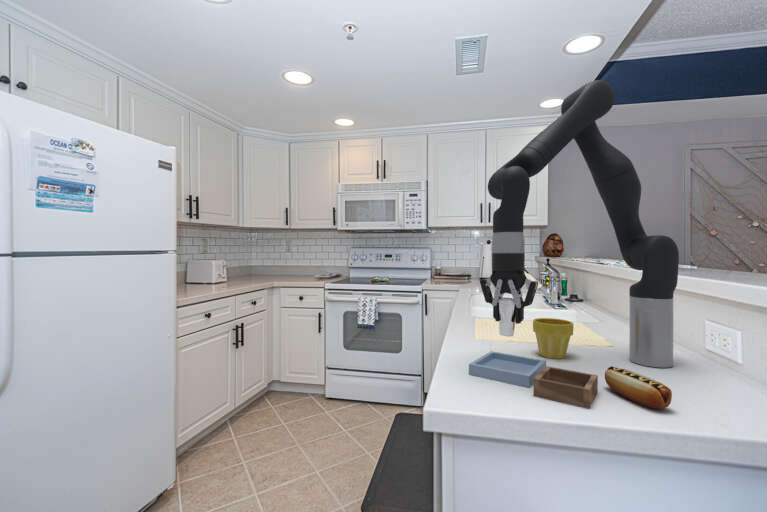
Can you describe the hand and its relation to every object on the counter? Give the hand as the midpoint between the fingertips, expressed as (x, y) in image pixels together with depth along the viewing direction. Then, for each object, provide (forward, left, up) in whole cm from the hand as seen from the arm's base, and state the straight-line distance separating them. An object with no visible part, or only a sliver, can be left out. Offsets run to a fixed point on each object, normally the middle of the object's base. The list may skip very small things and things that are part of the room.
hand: (508, 321), depth 88 cm
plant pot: (-22, +5, -13) cm, 26 cm away
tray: (0, 0, -12) cm, 12 cm away
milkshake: (0, 0, -3) cm, 3 cm away
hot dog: (+1, +25, -13) cm, 28 cm away
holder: (+6, +14, -12) cm, 20 cm away
